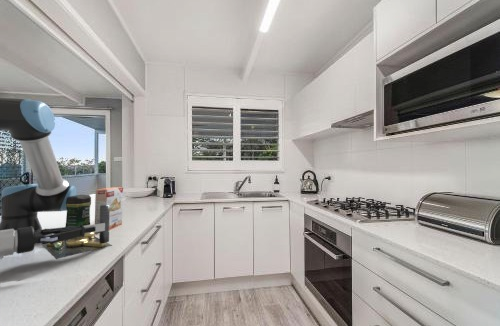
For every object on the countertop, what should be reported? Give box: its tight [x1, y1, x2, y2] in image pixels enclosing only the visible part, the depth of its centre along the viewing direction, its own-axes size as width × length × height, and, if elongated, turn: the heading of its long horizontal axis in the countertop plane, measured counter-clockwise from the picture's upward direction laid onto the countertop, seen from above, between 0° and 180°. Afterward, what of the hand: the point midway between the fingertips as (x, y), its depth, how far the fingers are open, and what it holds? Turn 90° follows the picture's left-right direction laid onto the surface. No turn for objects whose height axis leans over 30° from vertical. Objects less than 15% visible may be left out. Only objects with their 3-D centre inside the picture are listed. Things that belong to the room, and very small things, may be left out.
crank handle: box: [66, 205, 110, 247], centre depth 90 cm, size 17×7×16 cm, turn 80°
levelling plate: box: [41, 232, 113, 260], centre depth 90 cm, size 22×17×3 cm
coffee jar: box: [64, 194, 92, 227], centre depth 106 cm, size 10×8×19 cm
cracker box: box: [94, 186, 124, 231], centre depth 117 cm, size 14×6×21 cm, turn 179°
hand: (104, 226), depth 87 cm, fingers closed
